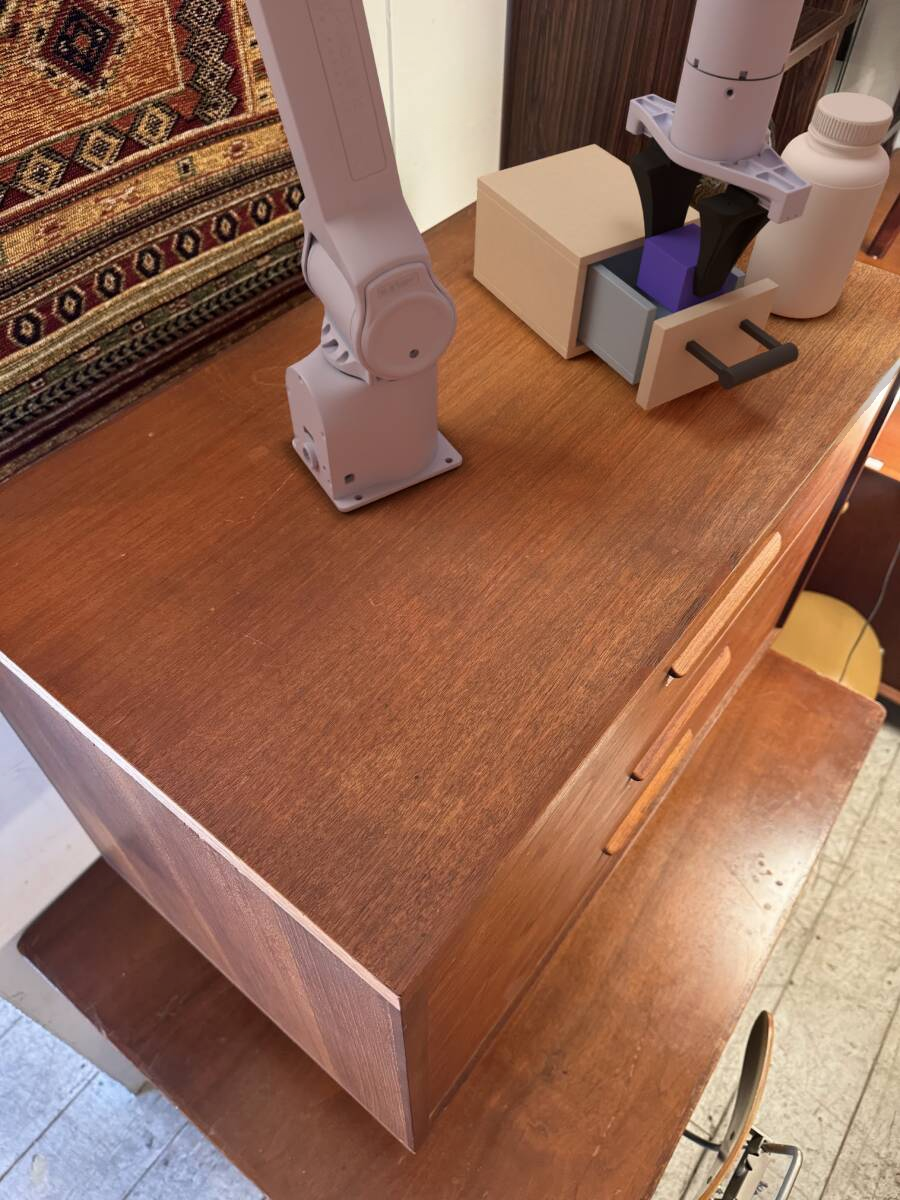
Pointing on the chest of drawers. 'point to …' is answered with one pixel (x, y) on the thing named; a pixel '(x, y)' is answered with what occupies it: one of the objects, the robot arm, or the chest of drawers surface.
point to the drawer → (678, 332)
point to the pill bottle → (826, 205)
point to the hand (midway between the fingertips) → (682, 274)
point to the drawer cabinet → (555, 235)
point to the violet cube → (673, 268)
